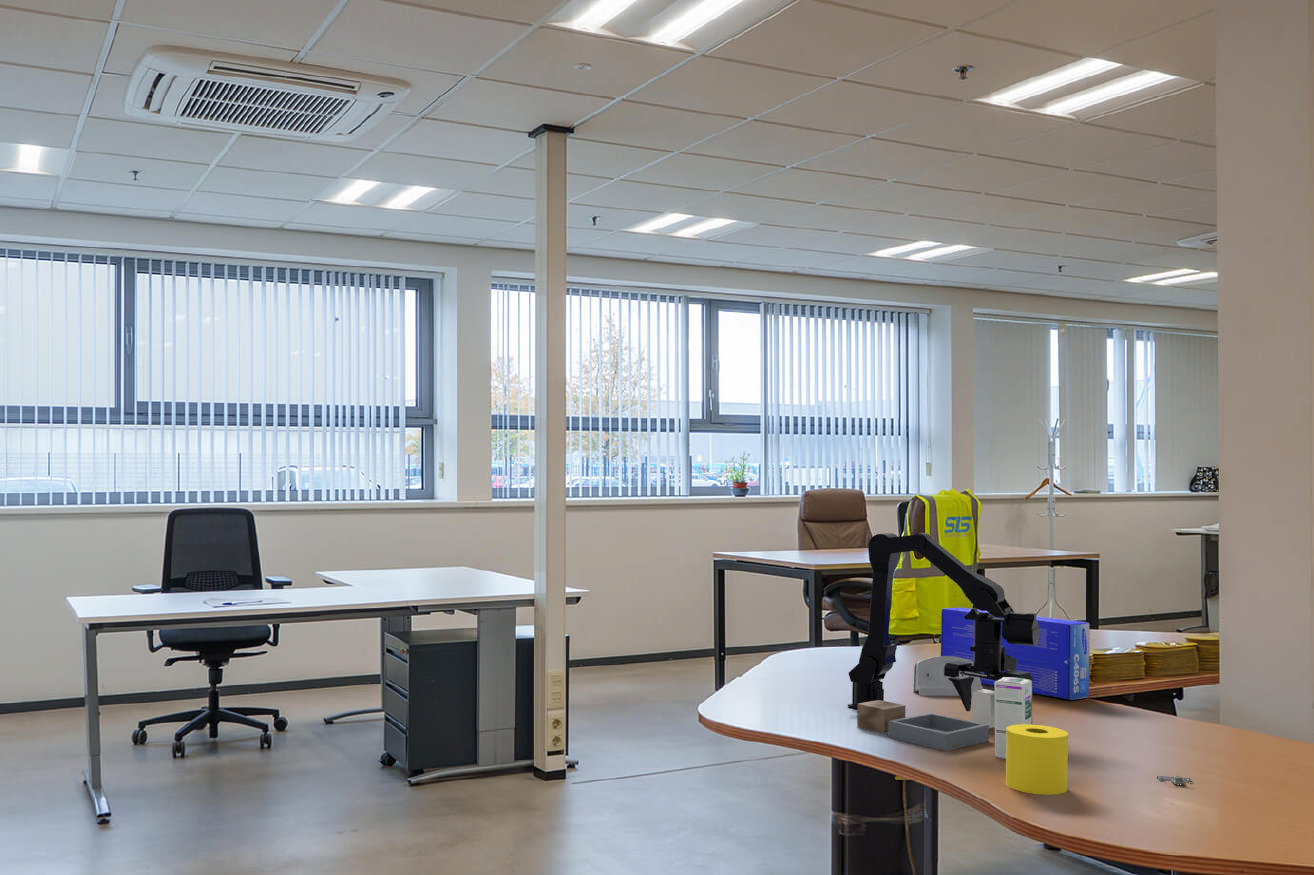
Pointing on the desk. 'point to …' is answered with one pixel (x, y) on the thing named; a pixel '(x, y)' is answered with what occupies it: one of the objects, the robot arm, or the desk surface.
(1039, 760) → the yellow paper roll
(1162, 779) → the grey flat piece
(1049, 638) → the toner cartridge box
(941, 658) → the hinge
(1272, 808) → the desk surface
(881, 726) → the oversize block
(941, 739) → the sorting tray
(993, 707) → the small block
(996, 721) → the syrup box
